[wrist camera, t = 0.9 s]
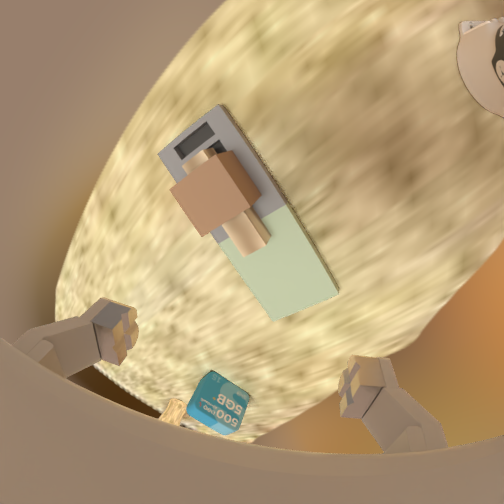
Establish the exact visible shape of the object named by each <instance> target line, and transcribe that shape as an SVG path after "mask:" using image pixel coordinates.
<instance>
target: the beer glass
mask: <svg viewBox="0 0 504 504" xmlns="http://www.w3.org/2000/svg"><path fill="white" fill-rule="evenodd" d="M186 407H187V405H186V404H185V403H184V402H183V401H181V400H179V399H175V398H173V399H170V401H169V404H168V407H167V409H166V410H165V411H164V413H163V414H162V415H161V416H160V417H159V418H158V419H159V420H162V421H165V422H168V423H171V424H174V425H177V426H180V423H181V419H182V417H183V415H184V414H185V413H186V412H187V411H186Z"/></svg>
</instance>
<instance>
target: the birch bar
mask: <svg viewBox="0 0 504 504" xmlns="http://www.w3.org/2000/svg"><path fill="white" fill-rule="evenodd" d="M215 154H217V153H216V151H215V150H214V148H209V149H204V150H202V151H200V152H199V153H198V154H196V155H195V156H194V157H192V158H191V159H190V160H189V161H187V162H186V163H185V164H184V165H182V167H183V169H184V170H185V172H186V173H187V175H189V174H190V173H191V172H192V171H194V170H195V169H196V168H198V167H199V166H200V165H202V164H203V163H204V162H206V161H207V160H208V159H210V158H211V157H212V156H214V155H215ZM222 227H223V228H224V229H225V231H226V232H227V234H228V235H229V237H230V238H231V240H232V241H233V243H234V244H235V246H236V247H237V249H238V250H239V252H240V253H241V254H242V256H243V257H245V256H247V255H249V254H251V253H253V252H255V251H257V250H258V249H260V248H262V247H264V246H266V245H267V243H268V241H269V239H270V237H271V234H270V233H269V231H268V230H267V228H266V226H265V225H264V223H263V222H262V220H261V219H260V217H259V216H258V214H257V213H256V211H255V210H254V208H253V207H252V206H251V207H250V208H248V209H246V210H245V211H243V212H241V213H240V214H238V215H236V216H235V217H233V218H232V219H230V220H228V221H227V222H225V223H224V224H222Z"/></svg>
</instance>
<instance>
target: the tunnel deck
mask: <svg viewBox="0 0 504 504" xmlns="http://www.w3.org/2000/svg"><path fill="white" fill-rule="evenodd" d="M209 148H214V150H215V151H216V153H217V154H215V155H214V156H212V157H211V158H210V159H208V160H207V161H206V162H204V163H203V164H202V165H200V166H199V167H198V168H196V169H195V170H194V171H192V172H191V173H190V174H189V175H187V173H186V172H185V170H184V169H183V167H182V165H184V164H185V163H186V162H187V161H189V160H190V159H191V158H192V157H194V156H195V155H196V154H198V153H199V152H200V151H202V150H204V149H209ZM158 155H159V157H160V159H161V160H162V162H163V163H164V165H165V166H166V168H167V169H168V171H169V172H170V174H171V175H172V177H173V178H174V180H175V181H176V183H177V184H176V185H175V186H173V187H172V188H171V189H170V191H171V193H172V194H173V196H174V197H175V199H176V200H177V202H178V203H179V205H180V206H181V208H182V209H183V211H184V212H185V213H186V215H187V216H188V218H189V219H190V221H191V222H192V224H193V225H194V227H195V228H196V230H197V231H198V232H199V234H200V235H201V237H203V236H204V235H206V234H208V233H209V232H210V233H211V234H212V236H213V237H214V239H215V240H216V242H217V243H218V244H219V246H220V247H221V249H222V250H223V252H224V253H225V255H226V256H227V257H228V259H229V260H230V262H231V263H232V265H233V266H234V267H235V269H236V270H237V272H238V273H239V275H240V276H241V277H242V279H243V280H244V282H245V283H246V285H247V286H248V287H249V289H250V290H251V292H252V293H253V294H254V296H255V297H256V299H257V300H258V301H259V303H260V304H261V306H262V307H263V308H264V310H265V311H266V313H267V314H268V315H269V317H270V318H271V320H272V321H276V320H279V319H281V318H284V317H286V316H289V315H291V314H294V313H296V312H299V311H301V310H303V309H306V308H308V307H311V306H313V305H315V304H318V303H320V302H322V301H325V300H327V299H329V298H332V297H334V296H336V295H338V294H339V287H338V286H337V284H336V282H335V280H334V278H333V277H332V275H331V273H330V271H329V270H328V268H327V266H326V264H325V263H324V261H323V259H322V258H321V256H320V254H319V252H318V251H317V249H316V247H315V246H314V244H313V242H312V241H311V239H310V237H309V236H308V234H307V232H306V231H305V229H304V227H303V226H302V224H301V222H300V221H299V219H298V217H297V216H296V214H295V213H294V211H293V209H292V208H291V206H290V205H289V203H288V201H287V200H286V198H285V197H284V195H283V193H282V192H281V190H280V189H279V187H278V186H277V184H276V182H275V181H274V179H273V178H272V176H271V175H270V173H269V172H268V170H267V169H266V167H265V166H264V164H263V163H262V161H261V160H260V158H259V157H258V155H257V154H256V152H255V151H254V149H253V148H252V146H251V145H250V143H249V142H248V140H247V139H246V137H245V136H244V134H243V133H242V131H241V130H240V129H239V127H238V126H237V124H236V123H235V121H234V120H233V119H232V117H231V116H230V114H229V113H228V111H227V110H226V109H225V107H224V106H223V105H220V104H218V105H217V106H215V107H214V108H213V109H211V110H210V111H209V112H207V113H206V114H205V115H204V116H202V117H201V118H200V119H199V120H197V121H196V122H195V123H194V124H192V125H191V126H190V127H189V128H187V129H186V130H185V131H184V132H183V133H181V134H180V135H179V136H178V137H177V138H175V139H174V140H173V141H172V142H171V143H170V144H168V145H167V146H166V147H165V148H164V149H163V150H162V151H160V152H159V153H158ZM251 206H252V207H253V208H254V210H255V211H256V213H257V214H258V216H259V217H260V219H261V220H262V222H263V223H264V225H265V226H266V228H267V230H268V231H269V233H270V234H271V237H270V239H269V241H268V243H267V245H266V246H264V247H262V248H260V249H258V250H257V251H255V252H253V253H251V254H249V255H247V256H245V257H243V256H242V254H241V253H240V252H239V250H238V249H237V247H236V246H235V244H234V243H233V241H232V240H231V238H230V237H229V235H228V234H227V232H226V231H225V229H224V228H223V227H222V224H224V223H225V222H227V221H228V220H230V219H232V218H233V217H235V216H236V215H238V214H240V213H241V212H243V211H245V210H246V209H248V208H250V207H251Z"/></svg>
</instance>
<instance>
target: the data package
mask: <svg viewBox="0 0 504 504" xmlns="http://www.w3.org/2000/svg"><path fill="white" fill-rule="evenodd" d="M248 402H249V395H248V394H247V392H245V391H244V390H242V389H240V388H239V387H237V386H236V385H234V384H233V383H231V382H230V381H228V380H227V379H225V378H224V377H222V376H221V375H219V374H218V373H216V372H210V373H208V374H207V375H206V376H205V377H203V378H202V379H201V380H200V382H199V384H198V386H197V388H196V390H195V392H194V394H193V396H192V398H191V399H190V401H189V403H188V405H187V407H186V411H187V413H188V414H189V415H190V416H191V417H193V418H195V419H196V420H198V421H200V422H201V423H203V424H205V425H206V426H208V427H210V428H211V429H213V430H215V431H217V432H218V433H220V434H222V435H228V434H230V433H233V432H235V431H237V430H238V429H239V427H240V425H241V422H242V419H243V416H244V413H245V410H246V407H247V404H248Z"/></svg>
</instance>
